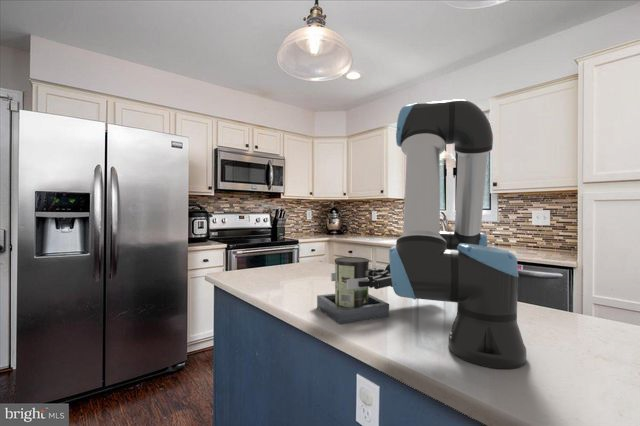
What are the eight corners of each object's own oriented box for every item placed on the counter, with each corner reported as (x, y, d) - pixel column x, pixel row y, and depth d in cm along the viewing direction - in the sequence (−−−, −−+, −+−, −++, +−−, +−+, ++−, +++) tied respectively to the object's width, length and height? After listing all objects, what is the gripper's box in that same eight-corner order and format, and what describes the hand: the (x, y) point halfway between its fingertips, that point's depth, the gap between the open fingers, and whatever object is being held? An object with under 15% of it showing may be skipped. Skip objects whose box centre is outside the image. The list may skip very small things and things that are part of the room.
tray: (389, 317, 93) (389, 304, 93) (339, 324, 87) (339, 310, 87) (361, 301, 108) (361, 290, 108) (317, 307, 102) (317, 295, 102)
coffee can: (366, 300, 103) (366, 256, 102) (370, 311, 92) (371, 262, 92) (334, 300, 103) (334, 256, 103) (334, 311, 93) (335, 262, 92)
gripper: (424, 294, 94) (357, 303, 85) (381, 278, 115) (323, 284, 106) (424, 269, 94) (357, 275, 85) (381, 257, 115) (324, 261, 106)
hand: (338, 280), depth 96 cm, fingers closed on coffee can, 10 cm apart
